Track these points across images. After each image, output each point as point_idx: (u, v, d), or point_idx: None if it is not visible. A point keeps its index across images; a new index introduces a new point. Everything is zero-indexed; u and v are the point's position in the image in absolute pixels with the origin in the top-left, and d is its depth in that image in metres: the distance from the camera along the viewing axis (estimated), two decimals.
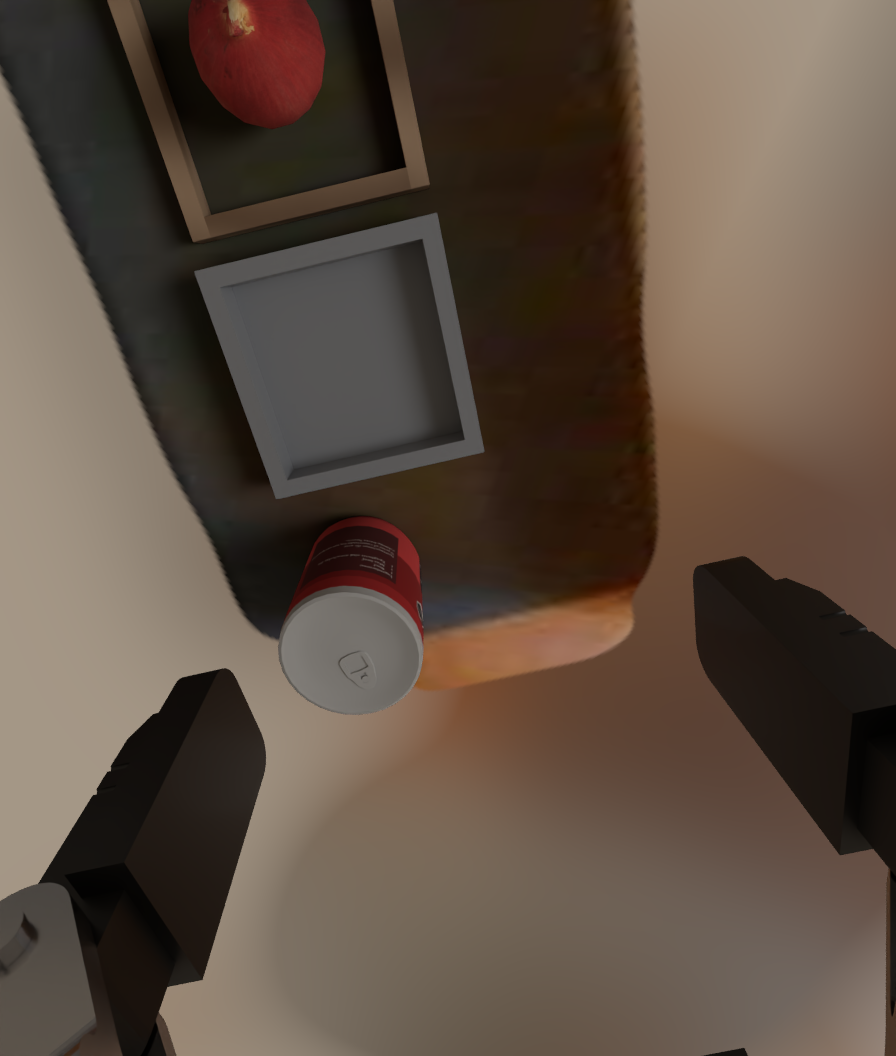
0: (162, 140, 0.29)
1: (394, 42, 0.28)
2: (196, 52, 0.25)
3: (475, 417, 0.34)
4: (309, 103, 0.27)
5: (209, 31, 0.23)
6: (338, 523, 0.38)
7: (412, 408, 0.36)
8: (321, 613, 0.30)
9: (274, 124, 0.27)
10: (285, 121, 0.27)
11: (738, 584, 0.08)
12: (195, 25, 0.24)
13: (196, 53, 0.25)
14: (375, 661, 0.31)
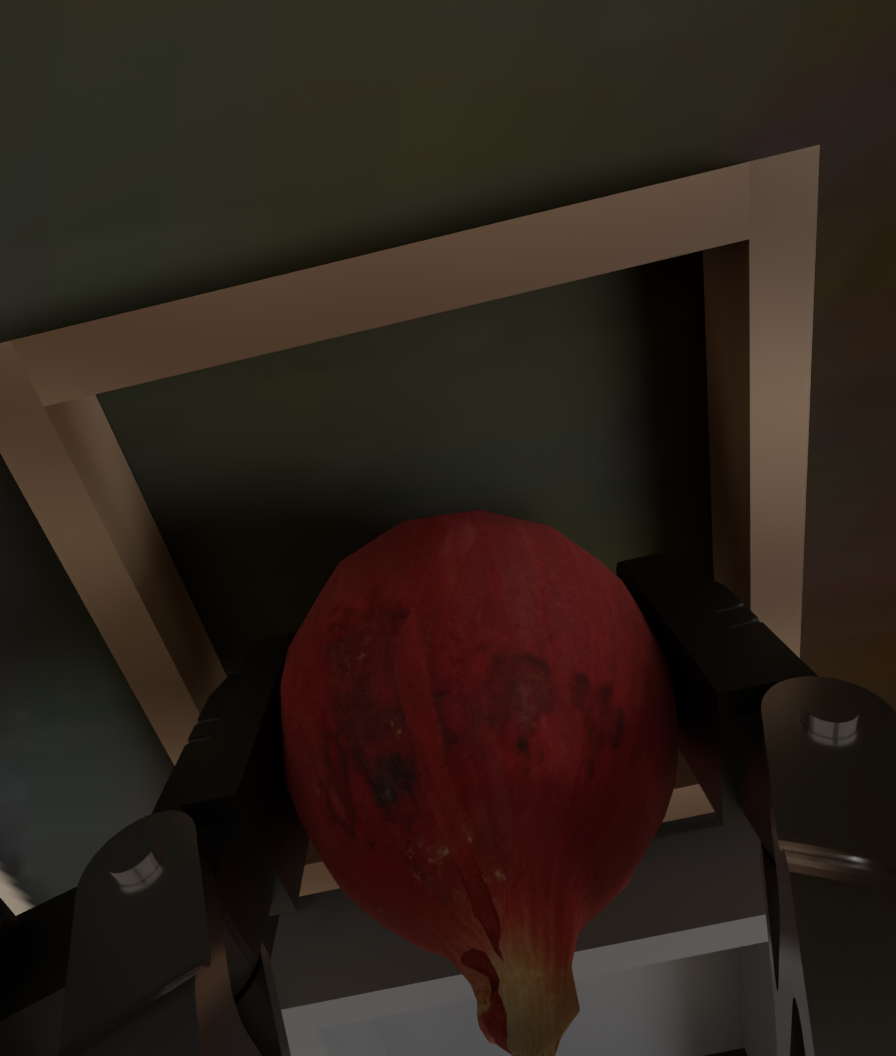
0: None
1: (784, 568, 0.11)
2: None
3: None
4: None
5: (384, 913, 0.06)
6: None
7: (657, 1048, 0.19)
8: None
9: None
10: None
11: (648, 579, 0.09)
12: (320, 825, 0.07)
13: (312, 840, 0.08)
14: None
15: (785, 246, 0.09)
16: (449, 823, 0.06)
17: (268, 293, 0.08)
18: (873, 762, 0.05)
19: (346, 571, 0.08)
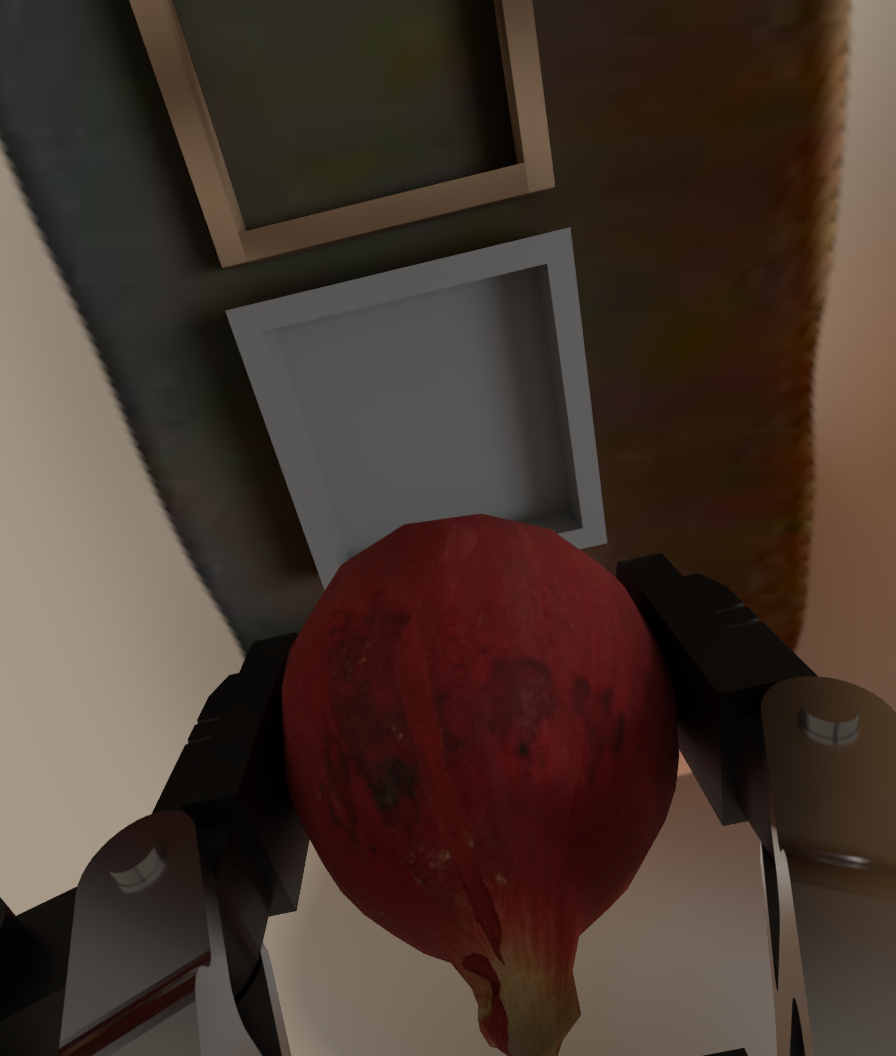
0: (180, 124, 0.20)
1: None
2: (312, 842, 0.08)
3: (599, 499, 0.25)
4: None
5: (385, 916, 0.06)
6: None
7: (507, 482, 0.27)
8: None
9: None
10: None
11: (648, 579, 0.09)
12: (321, 829, 0.07)
13: (313, 843, 0.08)
14: None
15: None
16: (451, 826, 0.06)
17: None
18: (873, 762, 0.05)
19: (347, 575, 0.08)
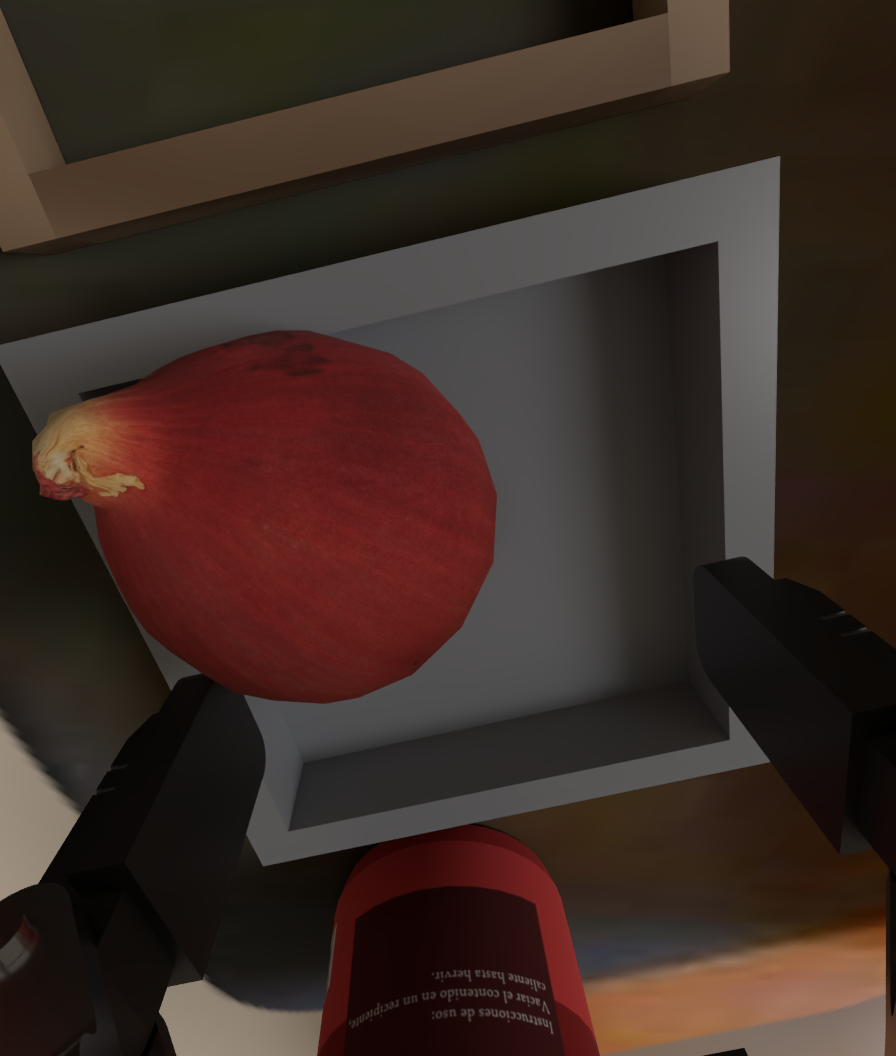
0: None
1: None
2: None
3: None
4: (385, 675, 0.08)
5: None
6: (400, 859, 0.17)
7: (583, 640, 0.15)
8: None
9: (282, 700, 0.09)
10: (310, 702, 0.09)
11: (738, 584, 0.08)
12: None
13: None
14: None
15: None
16: (153, 372, 0.07)
17: None
18: None
19: None
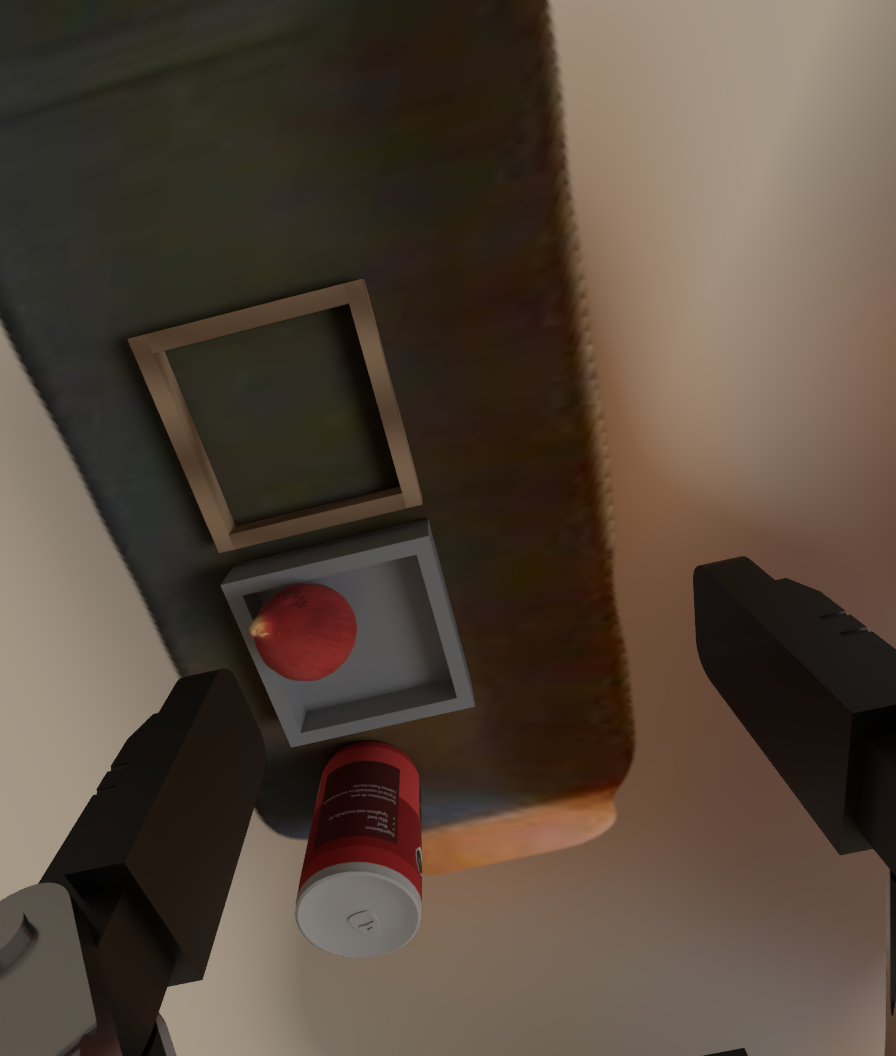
0: (193, 482, 0.34)
1: (390, 407, 0.33)
2: None
3: (466, 681, 0.38)
4: (321, 674, 0.33)
5: None
6: (346, 753, 0.42)
7: (410, 662, 0.40)
8: (332, 885, 0.34)
9: (296, 680, 0.34)
10: (303, 680, 0.34)
11: (738, 584, 0.08)
12: None
13: None
14: (379, 917, 0.35)
15: (359, 305, 0.31)
16: (268, 603, 0.33)
17: (215, 320, 0.31)
18: None
19: None
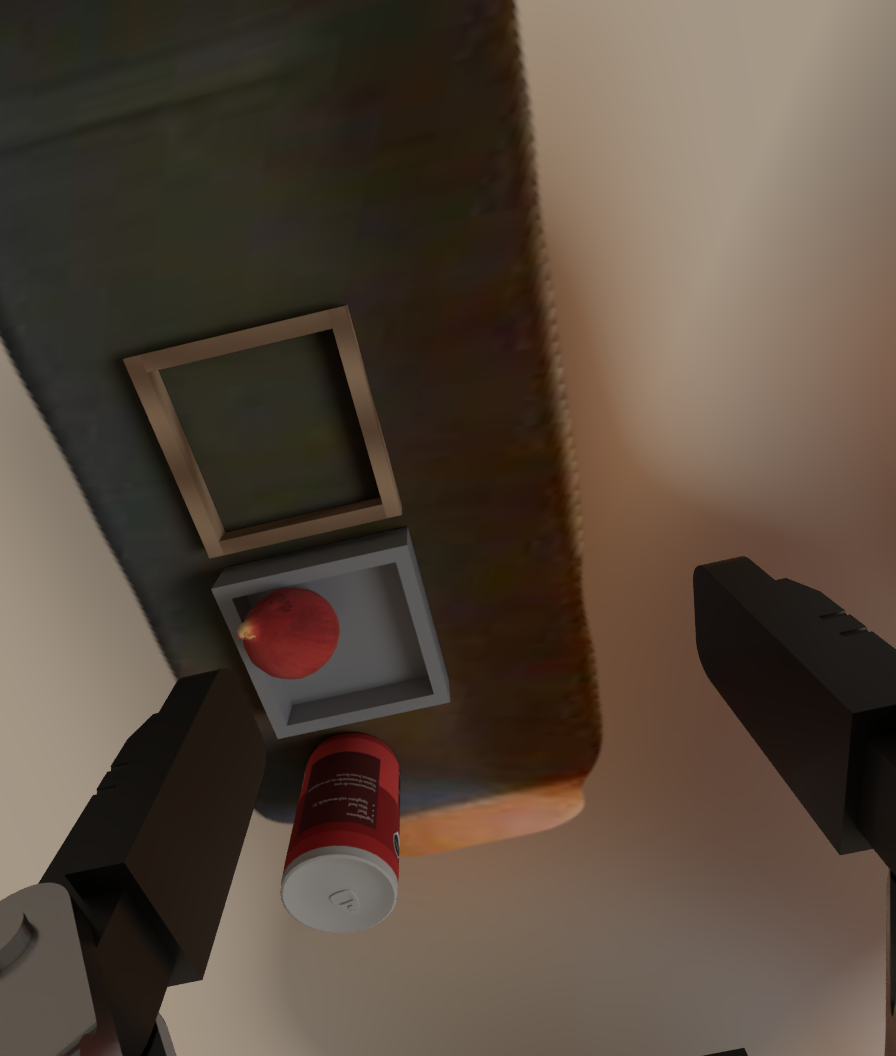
0: (185, 492, 0.36)
1: (371, 424, 0.35)
2: None
3: (442, 678, 0.41)
4: (305, 673, 0.36)
5: None
6: (330, 744, 0.45)
7: (391, 660, 0.43)
8: (315, 866, 0.37)
9: (282, 678, 0.37)
10: None
11: (738, 584, 0.08)
12: None
13: None
14: (359, 895, 0.38)
15: (342, 330, 0.33)
16: (255, 607, 0.35)
17: (206, 342, 0.33)
18: None
19: None
